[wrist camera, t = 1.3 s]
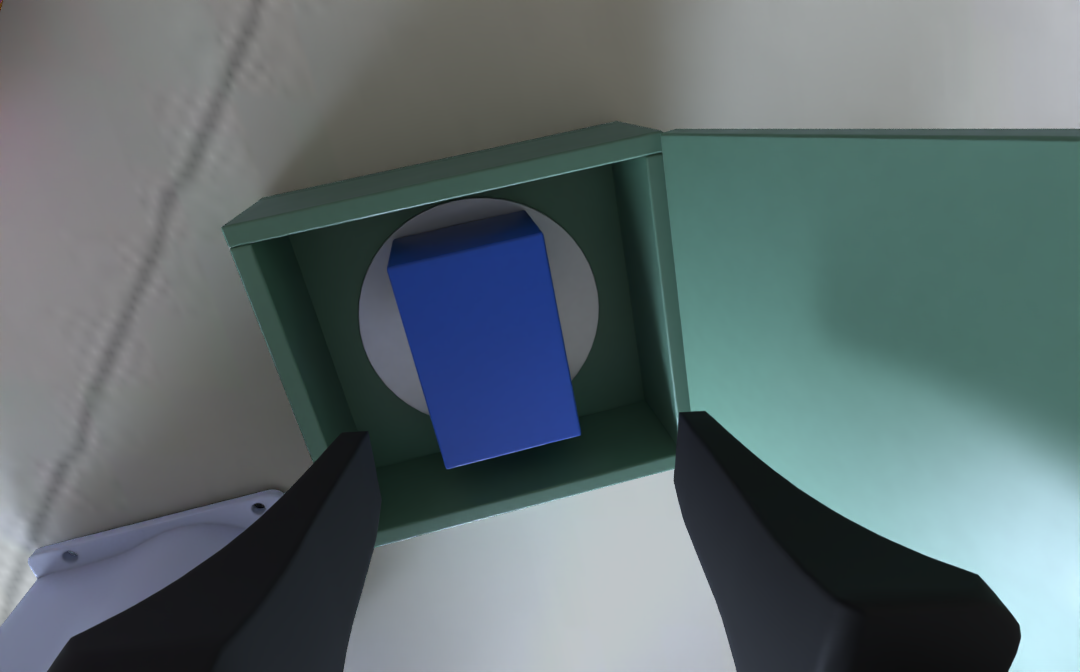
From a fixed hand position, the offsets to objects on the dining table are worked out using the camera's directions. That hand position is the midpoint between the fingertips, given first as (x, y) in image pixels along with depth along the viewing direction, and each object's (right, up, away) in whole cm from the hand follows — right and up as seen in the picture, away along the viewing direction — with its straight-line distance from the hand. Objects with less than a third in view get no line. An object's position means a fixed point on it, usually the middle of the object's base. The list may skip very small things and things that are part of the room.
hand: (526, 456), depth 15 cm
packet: (-2, +3, +8) cm, 9 cm away
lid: (+8, +1, -1) cm, 8 cm away
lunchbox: (-2, +4, +9) cm, 10 cm away
